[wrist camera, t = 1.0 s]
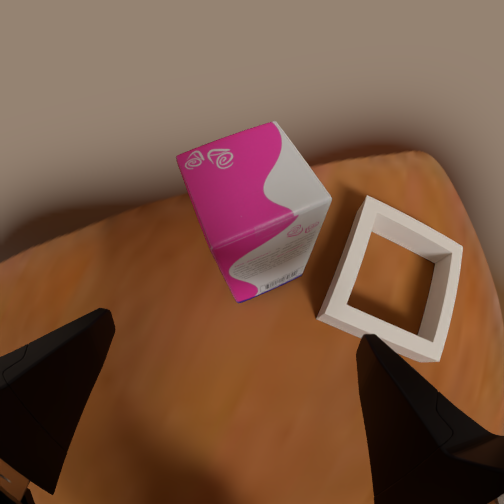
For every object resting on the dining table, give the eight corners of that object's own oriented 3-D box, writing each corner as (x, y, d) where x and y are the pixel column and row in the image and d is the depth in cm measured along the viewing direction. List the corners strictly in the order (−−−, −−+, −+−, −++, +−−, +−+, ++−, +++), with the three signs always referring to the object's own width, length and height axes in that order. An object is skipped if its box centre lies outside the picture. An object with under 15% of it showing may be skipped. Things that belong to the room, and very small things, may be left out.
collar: (420, 362, 19) (439, 361, 16) (316, 318, 21) (324, 313, 18) (445, 257, 22) (462, 246, 19) (356, 212, 24) (367, 195, 21)
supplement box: (271, 216, 24) (278, 116, 13) (303, 276, 22) (340, 203, 11) (209, 241, 23) (172, 152, 13) (236, 305, 21) (212, 256, 11)
